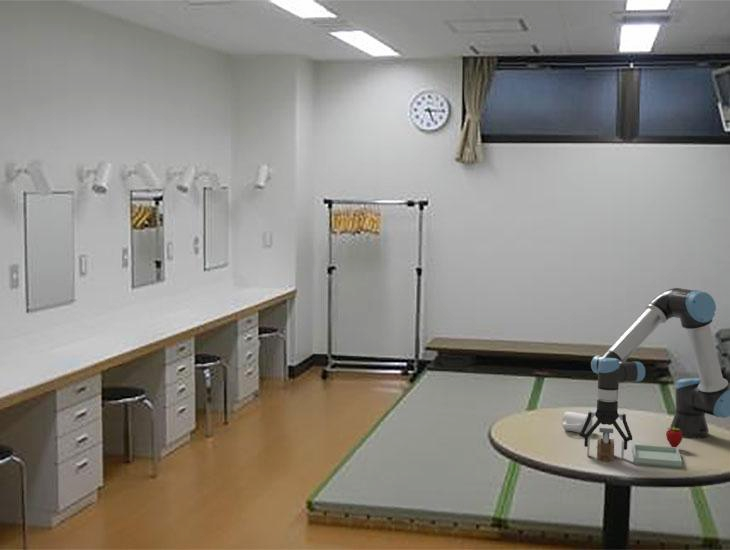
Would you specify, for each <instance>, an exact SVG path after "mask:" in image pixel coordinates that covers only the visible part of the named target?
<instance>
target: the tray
mask: <svg viewBox="0 0 730 550" xmlns="http://www.w3.org/2000/svg"><path fill="white" fill-rule="evenodd" d="M631 447H632V449H631V450H632V451H631V452H632V458H633V459H632V460H633V465H637V466H647V467H649V466H650V467H661V468H663V467H664V468H675V469H676V468H677V469H682V468H683V467H682V466H683V460H682V457H681V454H680V450H679V448H678V446H677V447H672V446H664V445H662V446H661V445H652V444H651V445H650V444H649V445H648V444H638V443H637V444H636V443H632V445H631Z"/></svg>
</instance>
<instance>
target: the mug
mask: <svg viewBox="0 0 730 550" xmlns="http://www.w3.org/2000/svg"><path fill="white" fill-rule="evenodd" d="M587 418H588V413H587V414H586V413H582V412H581V413H580V412H574V411H565V412H564V414H563V417H562V421H561V424H562V428H563V430H564V431H568V432H573V433H576V434H577V433H578V434H580V432H581V430H582V428H583V426H584V424H585V422H586V420H587ZM593 425H594V420H593V418H591V420H590V422H589V424H588V426H587V429H586V431H585V434H586V433H587V432H588V431H589V429H590V428H591V427H592V426H593Z"/></svg>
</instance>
